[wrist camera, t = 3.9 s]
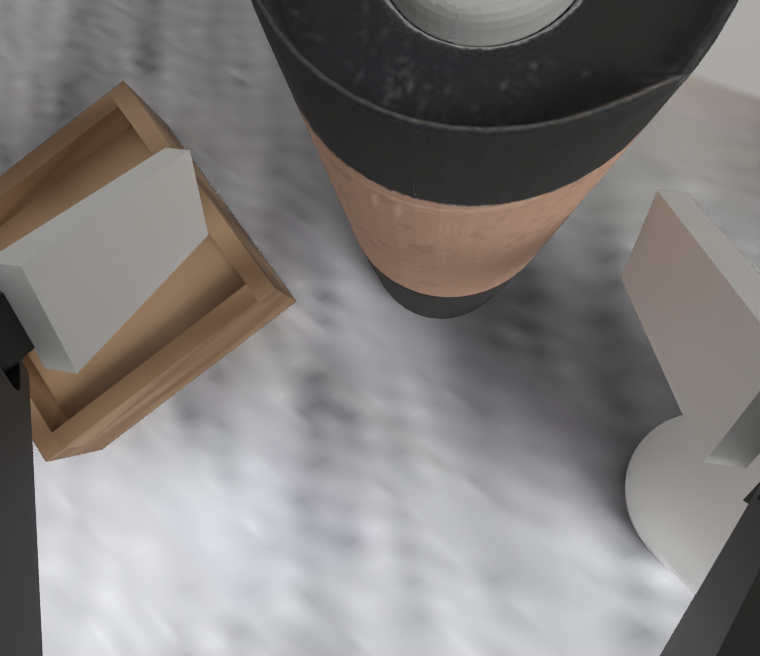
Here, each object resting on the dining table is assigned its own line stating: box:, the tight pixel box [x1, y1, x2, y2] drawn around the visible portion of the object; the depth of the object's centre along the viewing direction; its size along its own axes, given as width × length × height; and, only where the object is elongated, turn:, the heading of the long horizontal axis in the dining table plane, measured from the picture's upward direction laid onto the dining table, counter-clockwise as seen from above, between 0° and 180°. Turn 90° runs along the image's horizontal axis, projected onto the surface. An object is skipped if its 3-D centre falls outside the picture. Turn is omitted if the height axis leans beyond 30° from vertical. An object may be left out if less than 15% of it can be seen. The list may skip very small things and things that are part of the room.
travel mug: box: [251, 0, 738, 319], centre depth 16 cm, size 8×8×20 cm
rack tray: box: [0, 81, 296, 462], centre depth 26 cm, size 14×14×4 cm
